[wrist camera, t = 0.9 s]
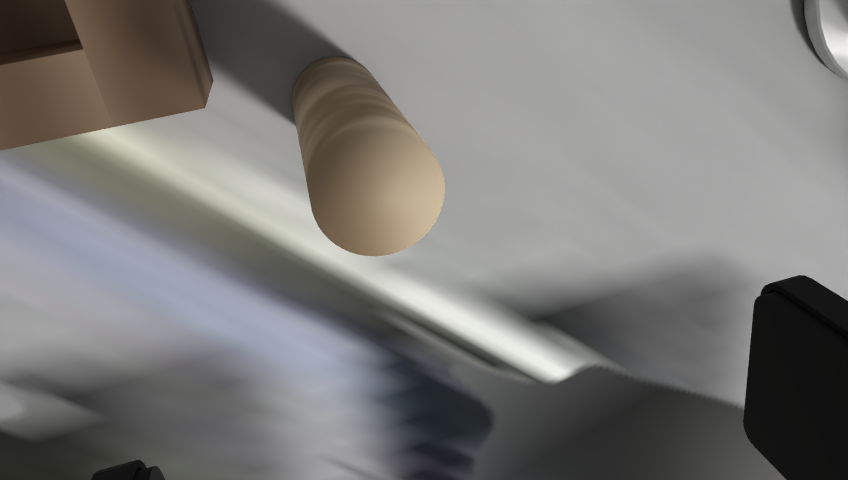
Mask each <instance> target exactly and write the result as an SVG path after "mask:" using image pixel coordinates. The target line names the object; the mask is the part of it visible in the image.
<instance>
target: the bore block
mask: <svg viewBox="0 0 848 480" xmlns="http://www.w3.org/2000/svg"><path fill="white" fill-rule="evenodd" d="M212 83H213V77H212V74H211V71H210V68H209V64H208V61H207V58H206V54H205V51H204V48H203V44H202V41H201V38H200V35H199V31H198V28H197V25H196V21H195V18H194V15H193V11H192V8H191V5H190V1H189V0H0V150H5V149H10V148H15V147H19V146H24V145H29V144H34V143H39V142H44V141H48V140H53V139H58V138H63V137H68V136H72V135H77V134H82V133H87V132H92V131H97V130H101V129H106V128H111V127H116V126H121V125H125V124H130V123H135V122H140V121H145V120H150V119H154V118H159V117H164V116H169V115H174V114H178V113H183V112H188V111H193V110H198V109H202V108H205V106H206V103H207V99H208V96H209V93H210V90H211V87H212Z"/></svg>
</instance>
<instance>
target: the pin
mask: <svg viewBox="0 0 848 480" xmlns="http://www.w3.org/2000/svg"><path fill="white" fill-rule="evenodd" d="M292 106H293V112H294V117H295V122H296V128H297V133H298V138H299V144H300V149H301V154H302V160H303V165H304V170H305V176H306V181H307V187H308V192H309V197H310V203H311V208H312V212H313V215H314V218H315V220H316V222H317V224H318V226H319V228H320V229H321V230H322V232H323V233H324V234H325V235H326V236H327V238H328V239H330V240H331V241H332V242H333V243H334V244H336V245H337V246H339V247H341V248H342V249H345V250H347V251H349V252H352V253H355V254H359V255H365V256H383V255H388V254H393V253H396V252H399V251H401V250H404V249H406V248H408V247H410V246H411V245H413V244H415V243H416V242H417V241H419V240H420V239H421V238H422V237H423V236H424V235H425V234H426V233H427V232H428V231H429V230H430V229H431V227H432V226H433V224H434V223H435V221H436V220H437V218H438V216H439V214H440V211H441V208H442V205H443V201H444V193H445V185H444V177H443V173H442V170H441V167H440V164H439V162H438V161H437V159H436V157H435V156H434V154H433V153H432V152H431V150H430V149H429V148H428V146H427V145H426V144H425V143H424V141H423V140H422V139H421V137H420V136H419V135H418V134H417V132H416V131H415V130H414V128H413V127H412V126H411V125H410V123H409V122H408V121H407V120H406V118H405V117H404V116H403V114H402V113H401V112H400V111H399V109H398V108H397V107H396V105H395V104H394V103H393V102H392V100H391V99H390V98H389V96H388V95H387V94H386V93H385V91H384V90H383V89H382V87H381V86H380V85H379V84H378V82H377V81H376V80H375V78H374V77H373V76H372V75H371V73H370V72H369V71H368V70H367V69H366V68H365V67H364V66H362V65H361V64H360V63H358V62H356V61H354V60H352V59H349V58H345V57H327V58H323V59H320V60H318V61H315V62H314V63H312V64H310V65H309V66H308V67H307V68H306V69H305V70H304V71H303V72H302V73H301V74H300V76H299V77H298V79H297V81H296V83H295V86H294V89H293V94H292Z"/></svg>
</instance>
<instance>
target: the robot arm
mask: <svg viewBox="0 0 848 480" xmlns="http://www.w3.org/2000/svg"><path fill="white" fill-rule="evenodd" d="M804 14H805V19H806V24H807V29H808V34H809V37H810V39H811V41H812V44H813V46H814V48H815V50H816V53H817V54H818V56H819V57H820V58H821V59H822V61H823V62H824V63H825V65H826V66H827V67H828V68H829V69H830V70H832V71H833V72H834V73H836V74H837V75H838V76H840V77H841V78H843V79H846V80H848V0H804ZM743 422H744V429H745V432H746V435H747V437H748V439H749V440H750V442H751V443H752V444H753V445H754V446H755V448H756V449H757V450H758V451H759V452H760V453H761V454H762V455H763V456H764V457H765V458H766V459H767V460H768V461H769V462H770V463H771V464H772V465H773V466H774V467H775V468H776V469H777V470H778V471H779V472H780V473H781V474H782V475H783V476H784V477H785V478H786V479H787V480H848V301H847V300H845V299H844V298H842V297H840V296H839V295H837V294H836V293H834V292H832V291H831V290H829V289H828V288H826V287H824V286H823V285H821V284H819V283H818V282H816V281H815V280H813V279H811V278H809V277H807V276H802V275H799V276H795V277H791V278H788V279H784V280H781V281H777V282H773V283H770V284H768V285H766V286H764V288H763V289H762V291H761V295H760V296H759V297H757V299H756V300H755V303H754V311H753V322H752V333H751V344H750V355H749V366H748V376H747V387H746V398H745V409H744V420H743ZM91 480H165V479H164V476H163V474H162V472H161V471H160V469H159V468H158V467H157V466H153V467H150V468H146V466H145V464H144V463H143V462H142V461H141V460H135V461H132V462H128V463H125V464H121V465H117V466H114V467H110V468H107V469H103V470H100V471H97V472H96V473H95V474H94V475H93V477H92V479H91Z"/></svg>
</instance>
